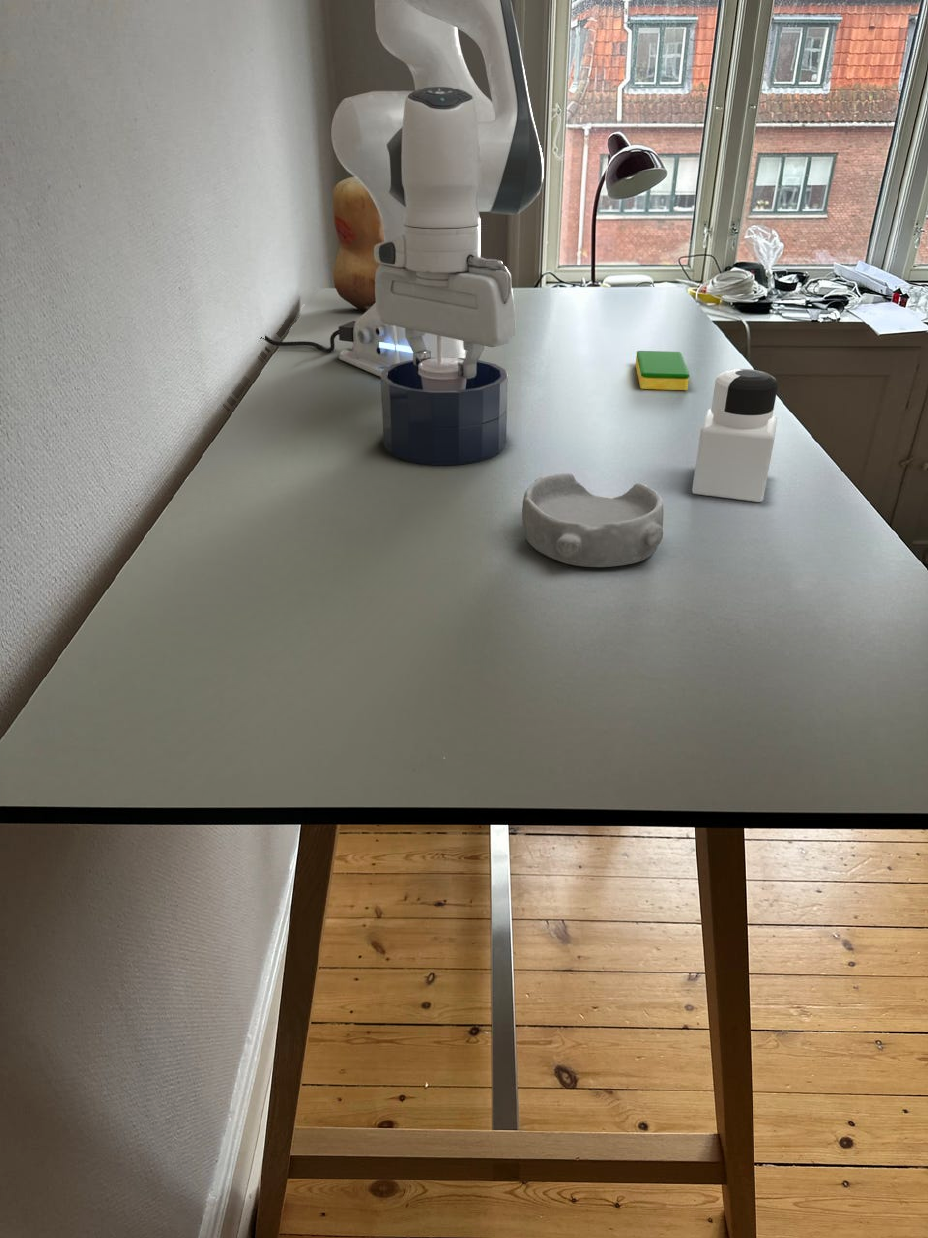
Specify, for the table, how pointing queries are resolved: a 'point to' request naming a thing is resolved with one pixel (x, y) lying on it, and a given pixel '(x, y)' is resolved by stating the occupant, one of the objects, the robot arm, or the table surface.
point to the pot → (444, 416)
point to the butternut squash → (356, 243)
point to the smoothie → (441, 373)
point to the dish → (591, 522)
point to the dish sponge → (661, 370)
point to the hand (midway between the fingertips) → (444, 371)
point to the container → (737, 437)
